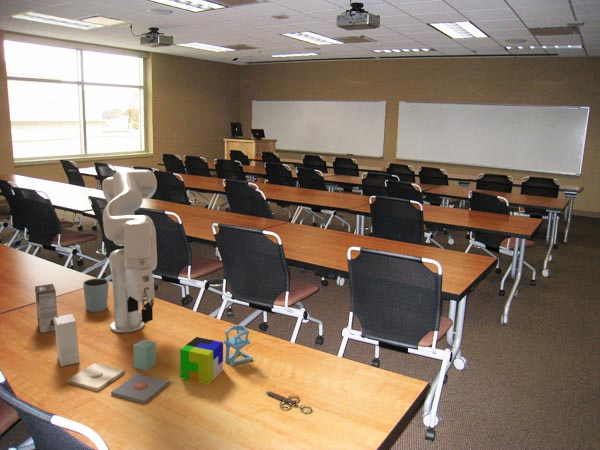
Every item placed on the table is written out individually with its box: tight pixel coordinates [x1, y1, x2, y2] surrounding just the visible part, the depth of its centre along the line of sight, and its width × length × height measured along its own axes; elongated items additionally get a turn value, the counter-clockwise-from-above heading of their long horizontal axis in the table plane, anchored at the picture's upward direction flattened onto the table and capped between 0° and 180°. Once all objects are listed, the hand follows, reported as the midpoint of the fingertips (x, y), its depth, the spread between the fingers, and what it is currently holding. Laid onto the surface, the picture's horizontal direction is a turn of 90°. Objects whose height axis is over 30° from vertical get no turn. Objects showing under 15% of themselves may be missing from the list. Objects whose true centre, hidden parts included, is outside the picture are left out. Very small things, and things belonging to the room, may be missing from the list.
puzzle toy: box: [179, 336, 224, 385], centre depth 157 cm, size 10×10×10 cm
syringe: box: [261, 389, 312, 411], centre depth 144 cm, size 8×18×2 cm, turn 56°
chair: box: [223, 325, 254, 366], centre depth 167 cm, size 8×8×12 cm
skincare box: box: [54, 313, 81, 367], centre depth 162 cm, size 8×6×15 cm
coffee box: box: [34, 283, 58, 334], centre depth 187 cm, size 9×6×16 cm
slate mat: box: [110, 372, 170, 405], centre depth 148 cm, size 12×12×1 cm
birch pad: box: [66, 362, 126, 392], centre depth 153 cm, size 12×12×1 cm
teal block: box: [132, 339, 157, 371], centre depth 161 cm, size 5×5×8 cm
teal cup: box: [82, 277, 110, 313], centre depth 207 cm, size 10×10×12 cm
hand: (140, 316), depth 147 cm, fingers open, 9 cm apart
